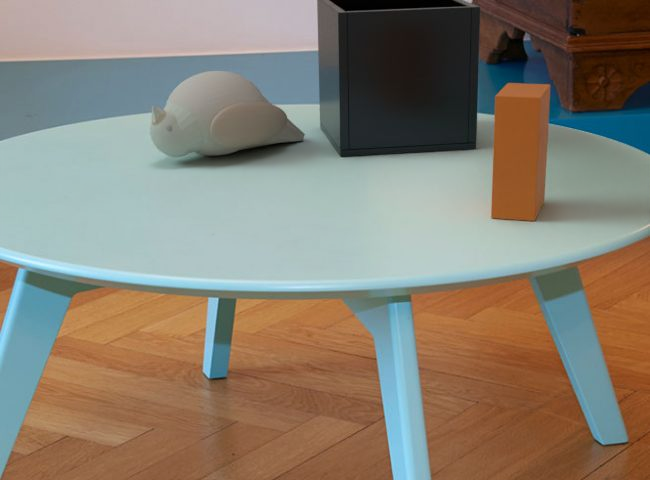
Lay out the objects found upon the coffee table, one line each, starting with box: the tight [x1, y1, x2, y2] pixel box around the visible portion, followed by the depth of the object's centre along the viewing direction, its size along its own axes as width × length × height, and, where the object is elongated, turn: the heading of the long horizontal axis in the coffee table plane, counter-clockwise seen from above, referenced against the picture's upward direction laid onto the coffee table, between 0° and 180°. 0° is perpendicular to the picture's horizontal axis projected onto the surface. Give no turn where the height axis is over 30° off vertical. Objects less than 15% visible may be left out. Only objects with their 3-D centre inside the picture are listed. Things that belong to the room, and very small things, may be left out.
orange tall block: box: [490, 82, 551, 222], centre depth 84 cm, size 3×5×9 cm, turn 162°
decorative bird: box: [149, 70, 306, 158], centre depth 103 cm, size 9×16×8 cm, turn 134°
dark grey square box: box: [316, 0, 481, 158], centre depth 106 cm, size 13×13×13 cm
